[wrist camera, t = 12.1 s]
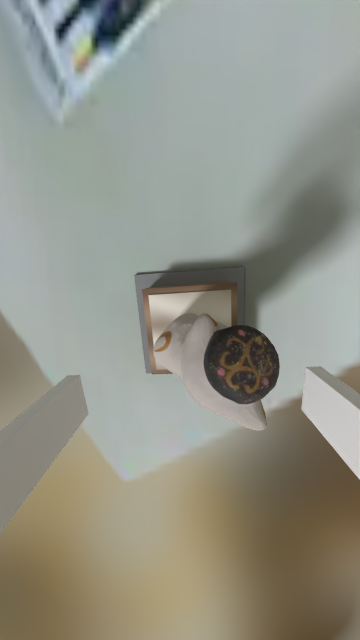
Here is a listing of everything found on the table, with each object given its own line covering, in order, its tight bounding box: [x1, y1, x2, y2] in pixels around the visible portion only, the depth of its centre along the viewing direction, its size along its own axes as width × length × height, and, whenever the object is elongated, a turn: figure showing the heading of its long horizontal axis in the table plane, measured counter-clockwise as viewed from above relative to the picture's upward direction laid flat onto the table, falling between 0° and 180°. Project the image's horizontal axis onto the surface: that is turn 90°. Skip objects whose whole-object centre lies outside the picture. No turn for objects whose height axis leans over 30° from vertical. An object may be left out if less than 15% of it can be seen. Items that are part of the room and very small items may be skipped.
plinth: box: [142, 282, 237, 374], centre depth 26 cm, size 12×12×4 cm
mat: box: [134, 267, 245, 373], centre depth 28 cm, size 16×16×1 cm
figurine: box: [153, 313, 280, 431], centre depth 17 cm, size 9×10×15 cm
